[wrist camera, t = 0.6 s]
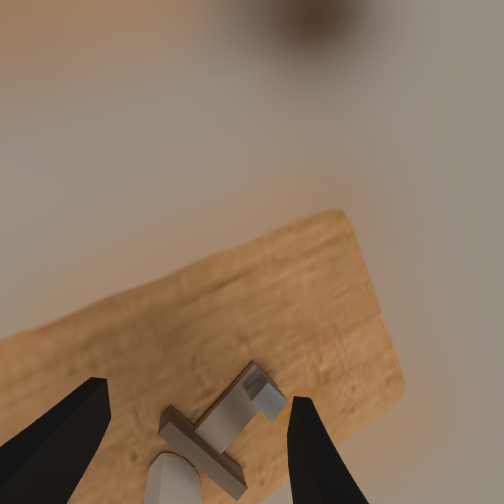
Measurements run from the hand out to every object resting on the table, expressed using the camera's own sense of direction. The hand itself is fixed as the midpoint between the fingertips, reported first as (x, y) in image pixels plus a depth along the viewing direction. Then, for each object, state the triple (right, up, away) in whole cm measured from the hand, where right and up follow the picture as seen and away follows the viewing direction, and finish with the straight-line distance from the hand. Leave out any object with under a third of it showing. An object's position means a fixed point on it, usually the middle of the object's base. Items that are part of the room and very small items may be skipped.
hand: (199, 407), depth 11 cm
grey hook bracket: (0, -12, +21) cm, 24 cm away
